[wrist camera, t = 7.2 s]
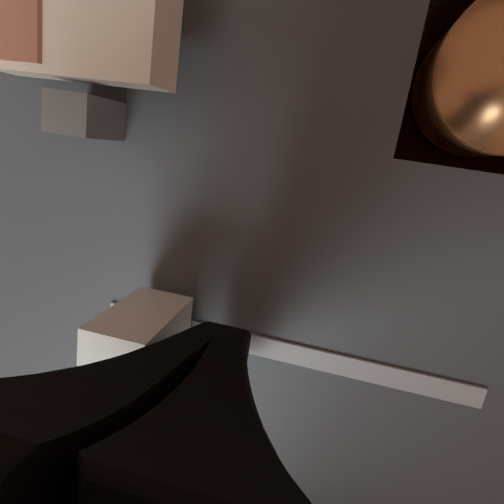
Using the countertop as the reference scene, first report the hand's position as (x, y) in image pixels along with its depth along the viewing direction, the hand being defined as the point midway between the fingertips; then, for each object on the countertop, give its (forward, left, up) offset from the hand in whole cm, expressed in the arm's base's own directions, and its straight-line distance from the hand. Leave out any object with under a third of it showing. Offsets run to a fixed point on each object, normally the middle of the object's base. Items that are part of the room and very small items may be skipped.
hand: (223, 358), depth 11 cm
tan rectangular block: (0, +2, -1) cm, 2 cm away
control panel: (+4, 0, -4) cm, 6 cm away
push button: (+8, -6, -4) cm, 10 cm away
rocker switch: (+8, +5, 0) cm, 9 cm away
